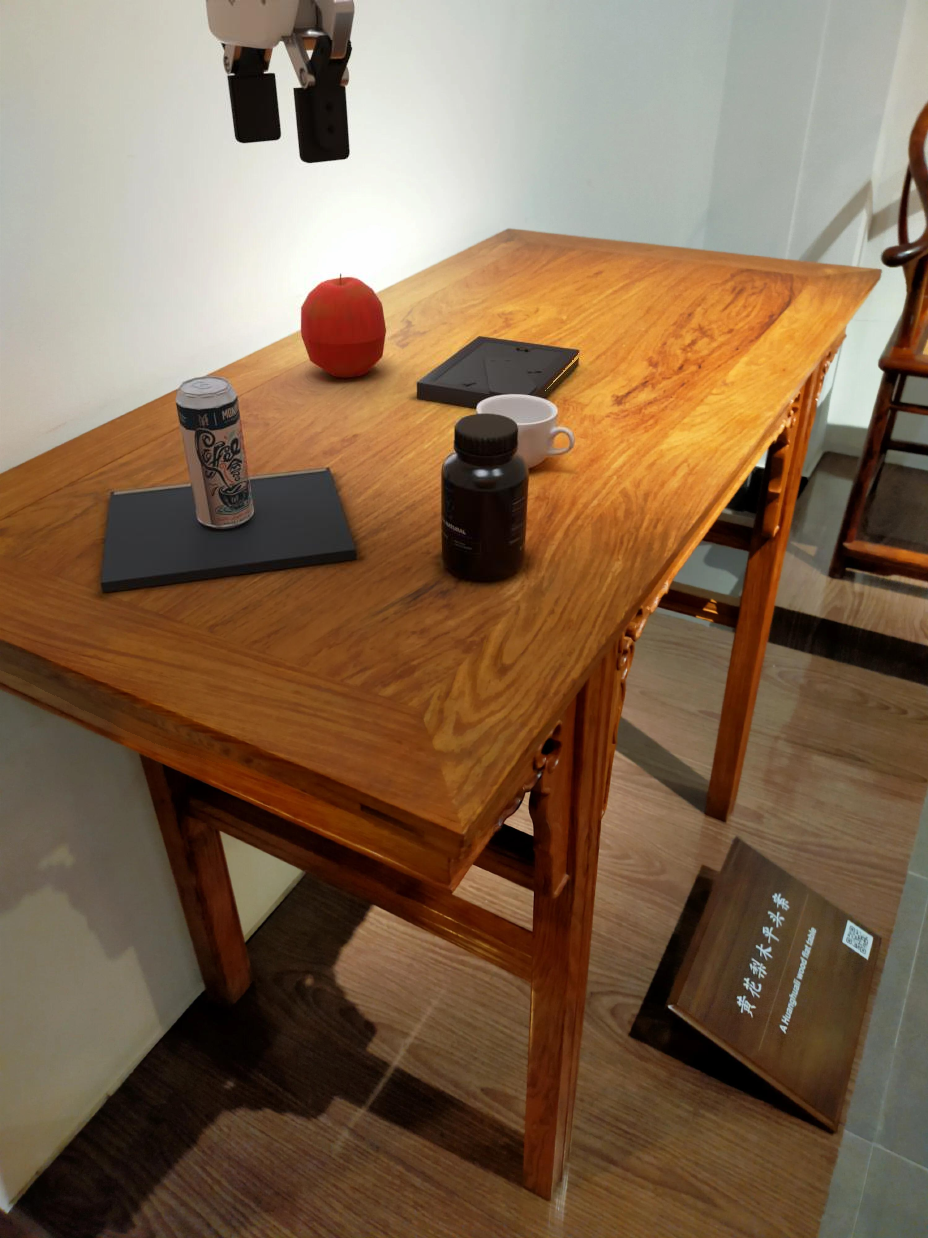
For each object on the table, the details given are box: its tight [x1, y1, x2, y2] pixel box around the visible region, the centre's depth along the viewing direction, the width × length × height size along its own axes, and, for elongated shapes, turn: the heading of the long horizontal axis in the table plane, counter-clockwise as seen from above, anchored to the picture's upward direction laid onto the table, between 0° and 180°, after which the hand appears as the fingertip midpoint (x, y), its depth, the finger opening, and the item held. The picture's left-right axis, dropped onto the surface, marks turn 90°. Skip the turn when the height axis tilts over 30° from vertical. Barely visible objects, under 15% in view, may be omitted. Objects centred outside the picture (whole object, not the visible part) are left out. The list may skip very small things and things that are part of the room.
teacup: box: [475, 394, 576, 470], centre depth 91 cm, size 10×8×5 cm
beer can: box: [175, 375, 254, 529], centre depth 78 cm, size 5×5×12 cm
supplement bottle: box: [440, 413, 530, 582], centre depth 74 cm, size 7×7×12 cm
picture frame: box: [416, 335, 580, 409], centre depth 110 cm, size 13×2×18 cm
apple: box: [300, 273, 387, 379], centre depth 110 cm, size 10×10×12 cm
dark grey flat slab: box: [100, 466, 358, 594], centre depth 81 cm, size 20×16×1 cm
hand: (290, 149), depth 61 cm, fingers open, 9 cm apart
